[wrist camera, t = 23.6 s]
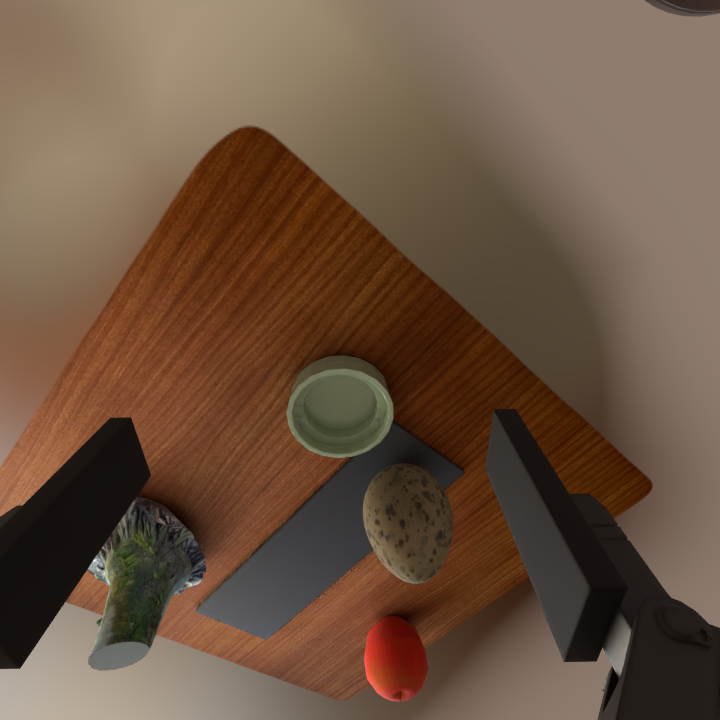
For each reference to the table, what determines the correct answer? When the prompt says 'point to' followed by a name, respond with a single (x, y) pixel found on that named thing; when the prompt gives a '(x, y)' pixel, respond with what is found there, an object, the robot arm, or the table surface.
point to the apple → (395, 659)
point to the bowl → (340, 407)
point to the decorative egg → (408, 521)
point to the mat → (316, 541)
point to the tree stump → (141, 580)
